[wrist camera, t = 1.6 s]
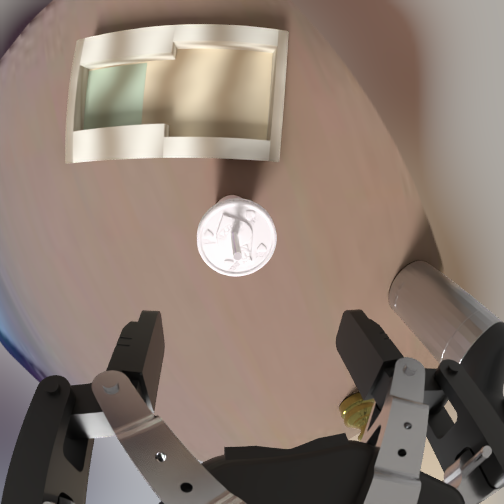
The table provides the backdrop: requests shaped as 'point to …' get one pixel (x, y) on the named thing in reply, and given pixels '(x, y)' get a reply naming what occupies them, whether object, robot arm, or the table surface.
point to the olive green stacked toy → (356, 412)
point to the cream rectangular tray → (177, 94)
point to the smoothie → (236, 236)
